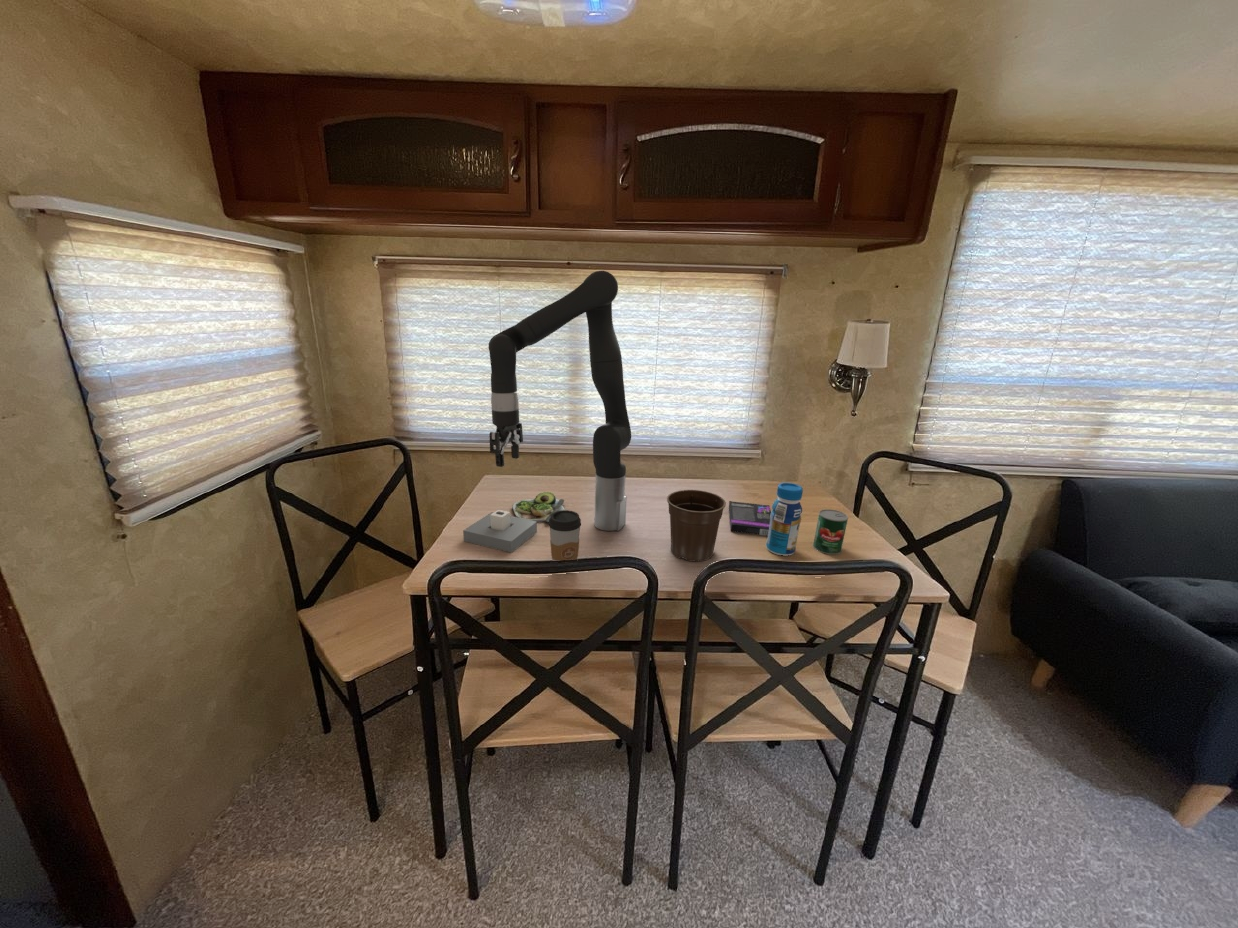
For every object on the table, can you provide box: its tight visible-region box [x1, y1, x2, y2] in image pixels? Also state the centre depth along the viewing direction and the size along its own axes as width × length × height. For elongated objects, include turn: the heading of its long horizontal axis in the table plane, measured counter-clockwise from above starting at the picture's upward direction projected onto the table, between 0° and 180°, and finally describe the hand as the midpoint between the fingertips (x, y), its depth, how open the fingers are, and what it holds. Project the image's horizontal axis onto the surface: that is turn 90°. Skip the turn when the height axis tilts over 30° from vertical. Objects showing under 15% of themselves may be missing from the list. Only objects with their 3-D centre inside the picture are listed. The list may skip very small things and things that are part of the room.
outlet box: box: [462, 511, 538, 553], centre depth 143 cm, size 16×14×4 cm
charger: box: [490, 509, 511, 532], centre depth 142 cm, size 4×4×7 cm
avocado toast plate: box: [512, 491, 565, 523], centre depth 159 cm, size 19×18×5 cm
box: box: [728, 500, 772, 537], centre depth 160 cm, size 14×4×20 cm
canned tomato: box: [812, 508, 849, 555], centre depth 142 cm, size 8×8×11 cm
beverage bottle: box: [765, 482, 804, 557], centre depth 139 cm, size 8×8×20 cm
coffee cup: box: [548, 509, 582, 561], centre depth 126 cm, size 8×8×15 cm
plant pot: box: [666, 489, 727, 562], centre depth 136 cm, size 16×16×16 cm
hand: (508, 462), depth 141 cm, fingers open, 8 cm apart
